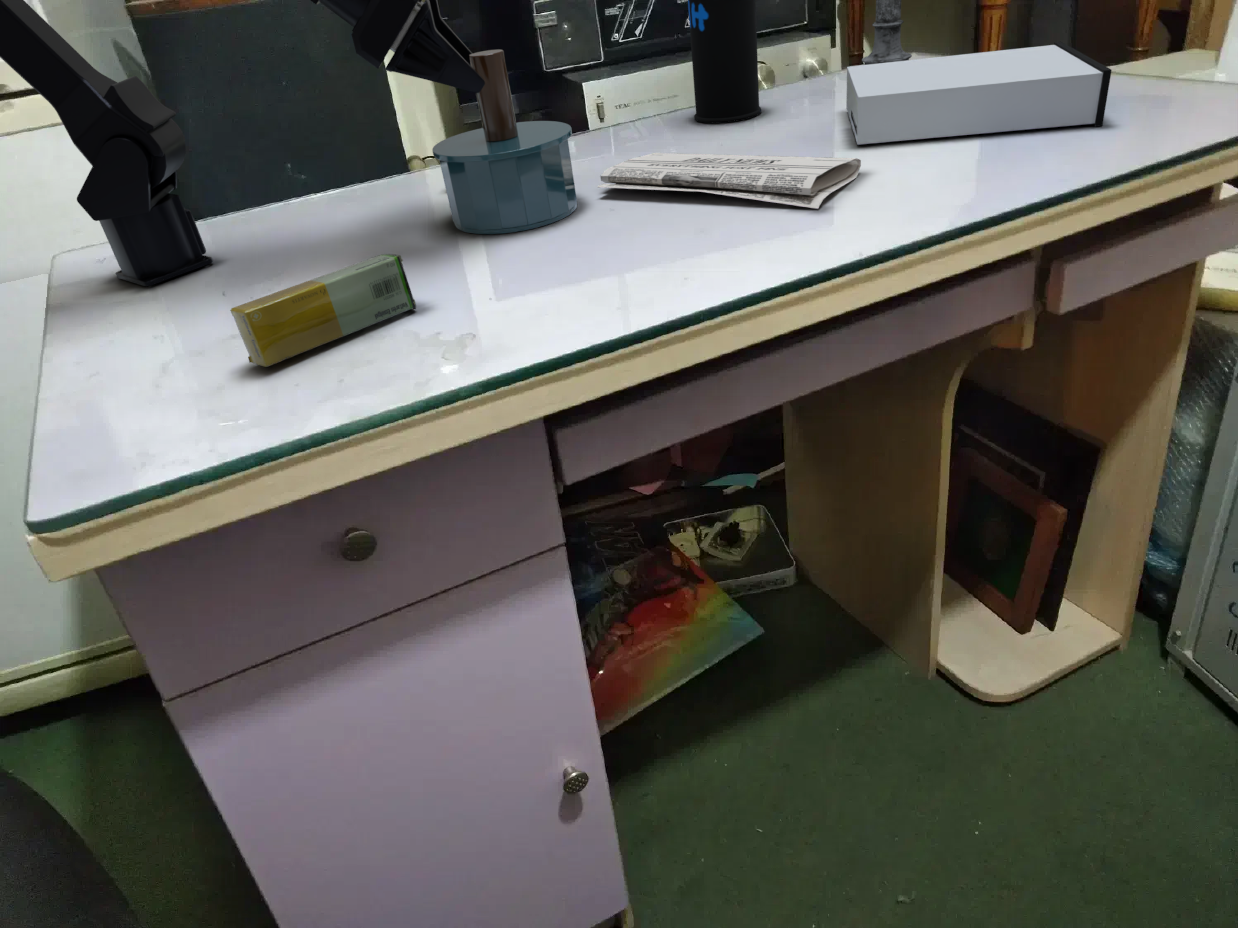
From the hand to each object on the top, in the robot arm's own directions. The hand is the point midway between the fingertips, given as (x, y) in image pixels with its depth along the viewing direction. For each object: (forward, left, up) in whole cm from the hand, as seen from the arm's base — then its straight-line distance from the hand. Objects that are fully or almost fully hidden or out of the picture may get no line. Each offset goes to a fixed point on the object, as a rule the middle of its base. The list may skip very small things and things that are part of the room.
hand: (481, 80), depth 75 cm
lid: (+1, -1, -5) cm, 6 cm away
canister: (+1, -1, -12) cm, 12 cm away
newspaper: (+14, -16, -12) cm, 24 cm away
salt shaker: (+56, -12, -12) cm, 58 cm away
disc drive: (+42, -27, -12) cm, 51 cm away
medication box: (-25, -9, -12) cm, 29 cm away
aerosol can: (+40, +1, -12) cm, 41 cm away
